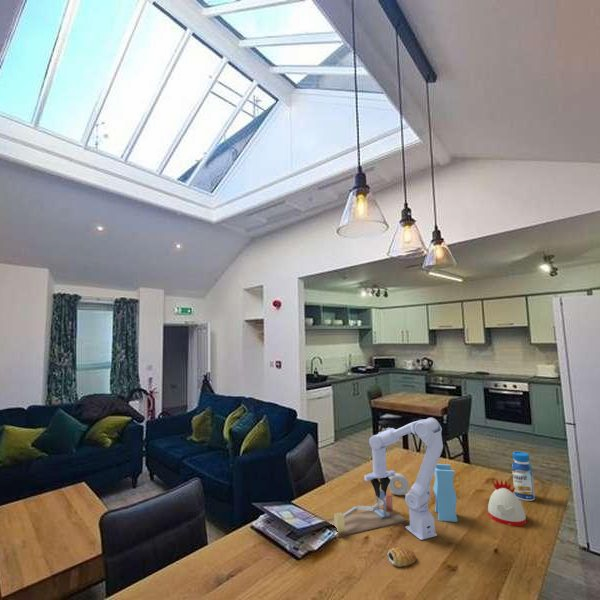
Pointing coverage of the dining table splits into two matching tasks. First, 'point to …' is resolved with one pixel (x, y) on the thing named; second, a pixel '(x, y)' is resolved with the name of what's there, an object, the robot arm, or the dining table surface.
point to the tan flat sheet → (367, 522)
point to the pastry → (401, 556)
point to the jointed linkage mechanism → (340, 517)
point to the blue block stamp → (379, 511)
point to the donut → (396, 490)
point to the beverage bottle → (522, 476)
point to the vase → (445, 493)
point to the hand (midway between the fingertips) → (380, 495)
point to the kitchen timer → (506, 506)
